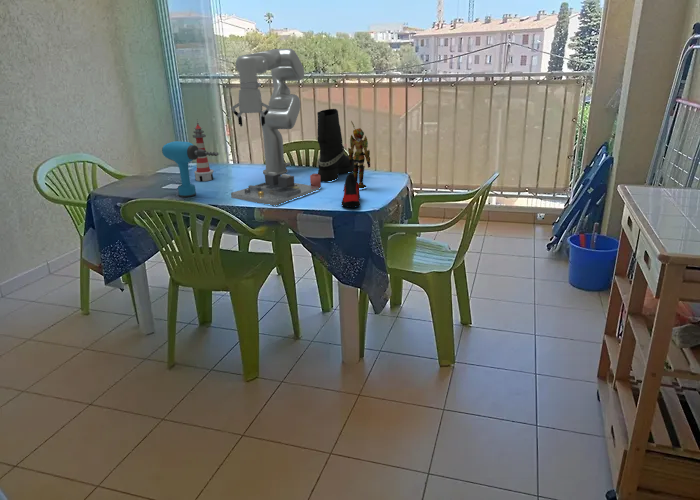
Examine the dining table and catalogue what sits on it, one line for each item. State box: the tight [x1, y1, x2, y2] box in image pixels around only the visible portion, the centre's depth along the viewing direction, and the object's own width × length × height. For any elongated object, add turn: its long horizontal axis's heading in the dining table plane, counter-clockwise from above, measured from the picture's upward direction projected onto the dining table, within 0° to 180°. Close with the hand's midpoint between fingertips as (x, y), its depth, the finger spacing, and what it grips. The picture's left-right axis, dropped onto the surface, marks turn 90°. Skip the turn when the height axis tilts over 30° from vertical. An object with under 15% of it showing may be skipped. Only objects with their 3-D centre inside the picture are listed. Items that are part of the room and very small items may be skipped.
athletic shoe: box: [341, 172, 361, 208], centre depth 205 cm, size 8×20×12 cm, turn 179°
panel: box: [230, 182, 320, 207], centre depth 222 cm, size 28×26×4 cm
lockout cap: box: [309, 173, 322, 188], centre depth 229 cm, size 5×5×7 cm
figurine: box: [347, 120, 371, 188], centre depth 223 cm, size 11×7×30 cm
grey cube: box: [278, 173, 295, 187], centre depth 226 cm, size 5×5×5 cm
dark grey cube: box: [264, 172, 282, 185], centre depth 230 cm, size 5×5×5 cm
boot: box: [316, 108, 354, 181], centre depth 248 cm, size 12×35×33 cm, turn 156°
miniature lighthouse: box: [192, 120, 215, 182], centre depth 245 cm, size 9×9×30 cm
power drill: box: [161, 140, 219, 198], centre depth 217 cm, size 28×9×23 cm, turn 68°
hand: (252, 125), depth 231 cm, fingers open, 9 cm apart
